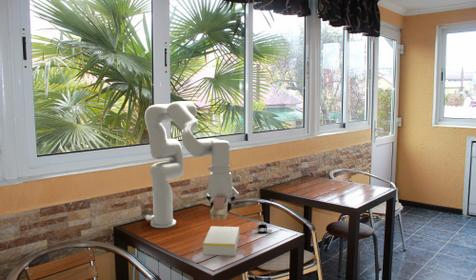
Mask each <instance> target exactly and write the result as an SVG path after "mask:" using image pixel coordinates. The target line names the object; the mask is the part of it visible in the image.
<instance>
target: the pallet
mask: <svg viewBox="0 0 476 280" xmlns="http://www.w3.org/2000/svg"><path fill="white" fill-rule="evenodd" d="M228 214H229V212H228V199H227V201H225V207H224V209H214V205H213V207H212V209H211V208H210V210H209V215H210V216H209V217H210V221H214V220H215V219H216V220H215V221H216V222H217V221H220V219H221V220H222V222H226V221H227V220H226V219H227V217H228Z"/></svg>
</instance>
